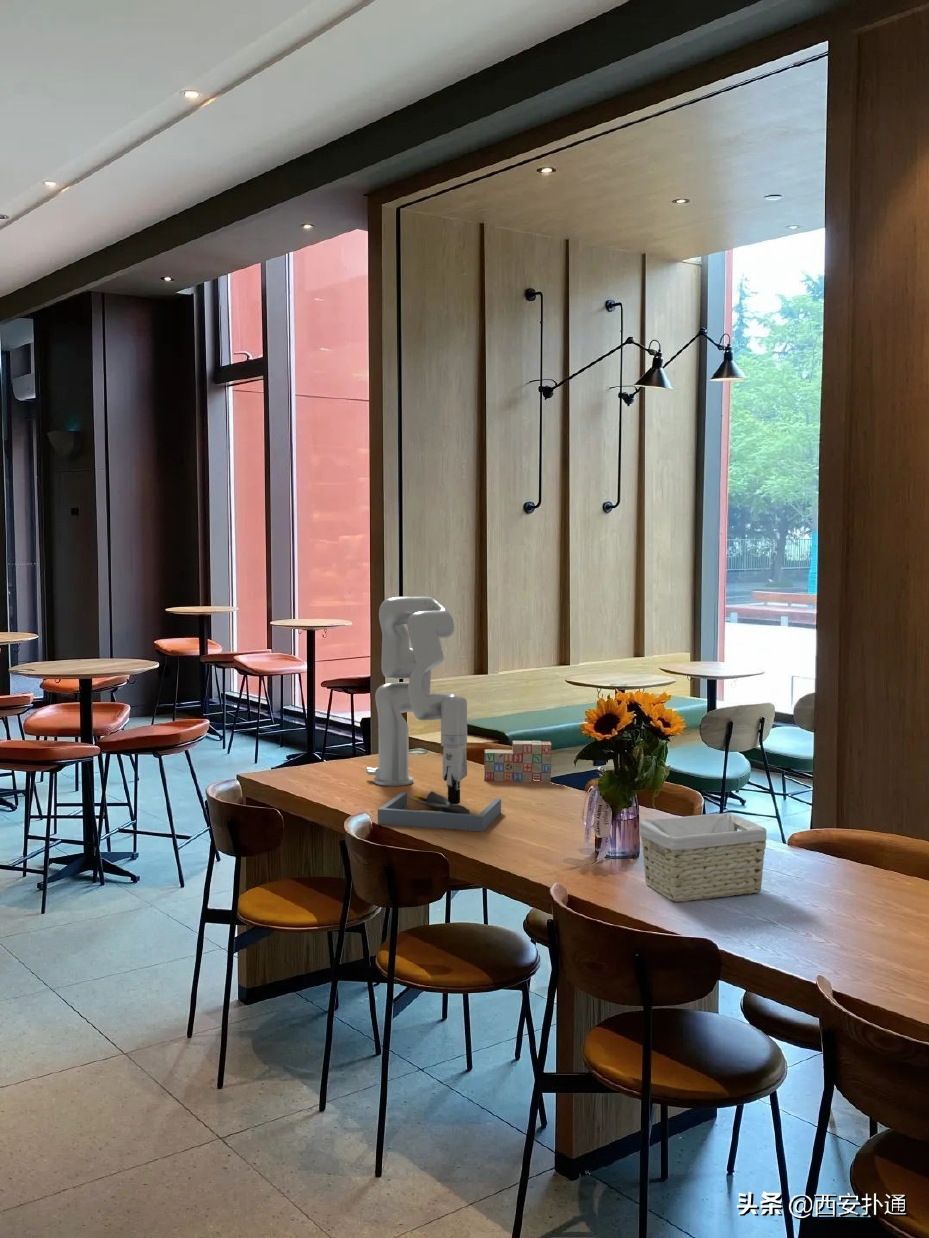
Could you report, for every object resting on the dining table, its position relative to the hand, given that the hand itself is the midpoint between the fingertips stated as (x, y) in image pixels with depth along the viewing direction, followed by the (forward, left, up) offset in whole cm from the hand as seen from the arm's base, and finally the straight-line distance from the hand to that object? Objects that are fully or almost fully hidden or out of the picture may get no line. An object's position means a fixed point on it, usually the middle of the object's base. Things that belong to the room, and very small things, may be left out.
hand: (453, 803), depth 315 cm
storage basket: (+72, -57, -2) cm, 92 cm away
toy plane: (-3, -4, -2) cm, 5 cm away
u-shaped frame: (0, -13, -1) cm, 13 cm away
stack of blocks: (+10, +42, -2) cm, 43 cm away
